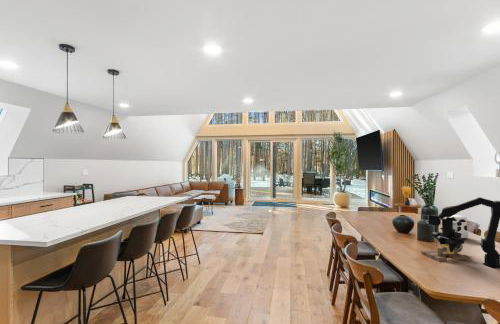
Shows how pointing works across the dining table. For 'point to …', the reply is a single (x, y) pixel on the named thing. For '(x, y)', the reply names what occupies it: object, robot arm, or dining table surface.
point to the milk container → (460, 225)
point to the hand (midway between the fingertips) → (447, 250)
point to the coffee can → (456, 245)
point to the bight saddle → (447, 248)
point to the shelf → (443, 254)
